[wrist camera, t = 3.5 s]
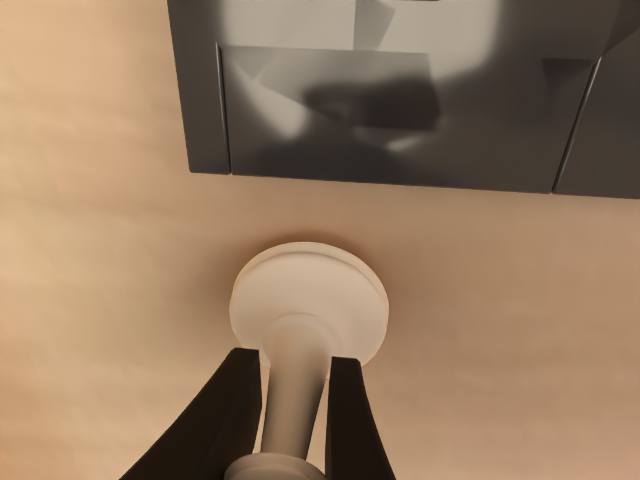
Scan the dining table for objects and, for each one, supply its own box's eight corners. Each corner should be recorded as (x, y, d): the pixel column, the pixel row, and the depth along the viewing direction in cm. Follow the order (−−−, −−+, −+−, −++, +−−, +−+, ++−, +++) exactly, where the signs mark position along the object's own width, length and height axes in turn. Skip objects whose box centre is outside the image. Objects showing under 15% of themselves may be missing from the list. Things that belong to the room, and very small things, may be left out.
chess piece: (220, 240, 12) (-170, 865, 3) (391, 240, 11) (486, 988, 3) (244, 363, 14) (57, 911, 6) (386, 368, 14) (427, 980, 5)
